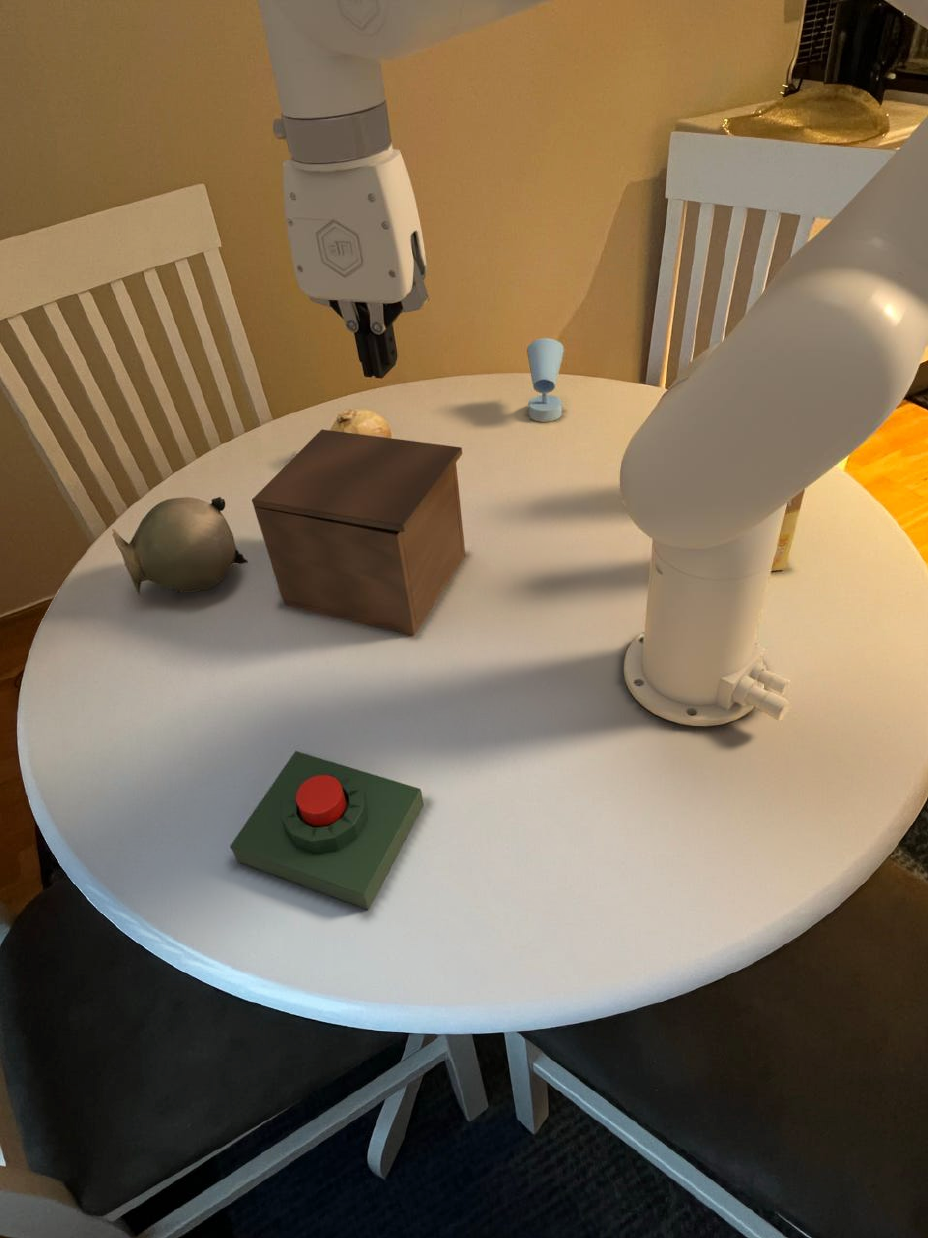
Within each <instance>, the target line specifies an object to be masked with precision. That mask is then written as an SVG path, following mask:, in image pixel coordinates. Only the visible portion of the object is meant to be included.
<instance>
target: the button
mask: <svg viewBox="0 0 928 1238" xmlns="http://www.w3.org/2000/svg"><path fill="white" fill-rule="evenodd" d="M296 802H297V805H298V807H299V810H300V813H301V815H302V818H303V819H304V820H305V821H306V822H307V823H309V824H310V825H313V826H326V825H329V824H332V823H333V822H335V821H337V820H338V819H339V818H340V817H341V816H342V814H343V813H344V811H345V808H346V799H345V796H344V792H343V789H342V786H341V784H340V782H339V781H338V780H337V779H336V778H334V777H332V776H328V775H319V776H315V777H312V778H310V779H308V780H307V781H305V782H304V783H303V784H302V785H301V786H300V788H299V789H298V791H297V795H296Z"/></svg>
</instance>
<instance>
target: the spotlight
mask: <svg viewBox="0 0 928 1238" xmlns="http://www.w3.org/2000/svg"><path fill="white" fill-rule="evenodd" d="M526 353H527V354H526V355H527V360H528V365H529V371H530V377H531V383H532V388H533V390H534V391H535V392H537V393H540V394H541V395H536V396H534V397H533V398H531V399H530V400H529V401H528V407H527V408H528V409H527V410H528V417H529V418H530V419H531V420H533V421H536V422H540V423H547V422H548V423H549V422H553V421H556V420H558V419H560V418H561V416H562V414H563V404H562V403H563V402H562V399H560V398H559V397H558V396H556V395H552V394H549V393H551V392H553V391H554V390H555V388H556V385H557V381H558V377H559V374H560V369H561V366H562V362H563V357H564V354H565V347H564V345H563V344H562V343H561V342H560V341H558V340H556V339H554V338H550V337H543V338H537V339H534V340H533V341H532V342H531V343H529V344H528V346H527V348H526Z"/></svg>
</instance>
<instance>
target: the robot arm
mask: <svg viewBox="0 0 928 1238" xmlns="http://www.w3.org/2000/svg"><path fill="white" fill-rule="evenodd" d="M551 1H553V0H257V3H258V8H259V13H260V18H261V22H262V27H263V32H264V35H265V40H266V46H267V49H268V50H267V51H268V55H269V60H270V65H271V69H272V75H273V78H274V83H275V87H276V93H277V97H278V101H279V106H280V110H281V115H280V116H281V118H275V119H274V121H273V124H272V131H273V134H274V137H275V138H276V139H278V140H284V141H286V144H287V149H288V152H289V154H290V158H288V159H286V160H285V161H283V163H282V184H283V185H282V188H283V189H282V190H283V204H284V205H283V206H284V215H285V223H286V232H287V238H288V243H289V249H290V256H291V261H292V266H293V271H294V275H295V279H296V284H297V285H298V287H299V289H300V291H301V292H302V293H303V294H304V295H306V296H307V297H308V298H309V300H310V301H311V302H312V303H316V304H319V305H320V306H321V305H322V306H325V307H327V308H331V309H332V310H333V311H334V312H335V313H336V314H337V315H338V316H339V317H340V318H341V319H342V320H343V321H344V325H345V327H346V329H347V330H348V331H349V332H350V333H353V335H354V341H355V345H356V346H355V347H356V353H357V355H358V356H357V357H358V360H359V362H360V363H361V367H362V373H363V376H364V377H365V378H372V377H374V378H375V379H381V380H382V379H383V378H384V377H385V376H386V375H387V374H389V373H390V372H391V370H392V369H393V368H394V367H395V366H396V364H397V361H398V349H397V342H396V337H395V329H394V322H396V321H397V319H398V318H399V316H400V315H401V314H402V313H409V312H415V311H419V310H422V309H423V308H424V307H425V306H426V305H427V304H428V303H429V302H430V296H429V293H428V290H427V287H426V283H425V281H424V280H425V279H426V278H427V273H428V272H427V270H428V269H427V268H428V267H427V257H426V250H425V243H424V242H425V241H424V236H423V230H422V225H421V220H420V215H419V211H418V207H417V202H416V197H415V193H414V190H413V189H414V188H413V186H412V183H411V179H410V176H409V172H408V170H407V166H406V163H405V161H404V158H403V155H402V152H401V150H400V149H398V148H397V149H396V148H393V147H394V146H393V140H392V133H391V127H390V119H389V112H388V105H387V98H386V92H385V84H384V78H383V69H382V63H381V62H382V61H397V60H402V59H407V58H409V57H412V56H414V55H418V54H419V53H422V52H425V51H427V50H430V49H432V48H435V47H436V46H439V45H441V44H444V43H447V42H449V41H452V40H454V39H457V38H461V37H463V36H465V35H469V34H472V33H474V32H477V31H479V30H481V29H484V28H486V27H489V26H492V25H494V24H497V23H499V22H501V21H504V20H506V19H508V18H511V17H514V16H516V15H519V14H521V13H525V12H526V11H529V10H532V9H535V8H536V7H539V6H541V5H542V6H543V5H544V4H548V3H549V2H551ZM884 1H885V2H887V3H888V4H890V5H891V6H892V7H894V8H895V9H897V10H898V11H900V12H901V13H903V14H904V15H906V16H907V17H909V18H910V19H911V20H913V21H914V22H916V23H918V24H919V25H921V27H923V28H925V29H926V30H928V0H884ZM927 348H928V115H926V116H925V118H924V119H923V120H922V121H921V122H920V123H919V125H918V126H917V127H916V128H915V129H914V130H913V131H912V132H911V134H910V135H909V136H908V137H907V138H906V140H905V141H904V142H903V143H902V144H901V145H900V147H899V148H898V149H897V151H896V152H895V153H894V154H893V155H892V156H891V158H889V160H888V161H887V162H886V163H885V164H884V165H883V166H882V167H881V168H880V169H879V170H878V171H877V172H876V173H875V174H874V176H873V177H872V178H871V179H870V180H869V181H868V182H867V183H866V184H865V185H864V186H863V187H862V188H861V189H860V190H859V192H857V193H856V195H855V196H854V197H853V198H852V199H851V200H850V201H849V202H848V203H847V204H846V205H845V206H844V207H843V208H842V209H841V210H840V211H839V212H838V213H837V214H835V216H834V217H833V218H832V219H831V220H830V221H829V222H828V223H827V224H826V225H825V226H824V227H823V228H821V230H819V232H817V234H815V235H814V236H813V237H812V238H811V239H809V240H808V241H807V242H806V243H804V244H803V245H802V246H801V247H800V248H799V249H798V250H796V252H795V253H793V254H792V255H791V256H790V258H789V259H788V260H787V261H786V262H785V263H784V264H783V265H782V267H780V269H779V270H778V271H777V272H776V273H775V275H774V276H773V278H772V279H771V280H770V282H769V283H768V285H767V286H766V287H765V288H764V290H763V291H762V292H761V294H760V295H759V296H758V298H757V299H756V300H755V302H754V303H753V305H751V307H750V308H749V309H748V311H746V313H745V314H744V316H742V318H741V319H740V320H739V322H738V323H737V324H736V325H735V326H734V328H732V329H731V330H730V331H729V333H728V334H727V336H725V338H724V339H722V341H720V342H718V343H715V344H713V345H711V346H709V347H708V348H706V349H705V350H703V351H702V352H700V353H699V354H698V355H697V356H696V357H694V358H693V359H692V360H691V361H690V362H689V363H688V364H687V365H686V366H685V367H684V369H682V371H681V372H680V373H679V374H678V375H677V377H676V378H675V379H674V380H673V381H672V382H671V384H670V385H669V387H668V388H667V390H666V391H665V392H664V394H663V395H662V396H661V398H660V399H659V400H658V403H657V404H656V405H655V407H654V408H653V409H652V410H651V412H650V413H649V414H648V416H647V417H646V418H645V420H643V422H642V424H641V425H640V426H639V427H638V428H637V429H636V431H635V433H634V434H633V436H632V437H631V439H630V441H629V442H628V444H627V445H626V447H625V450H624V453H623V456H622V459H621V462H620V469H619V489H620V490H619V491H620V495H621V500H622V502H623V505H624V508H625V510H626V512H627V514H628V516H629V517H630V519H631V520H632V522H633V523H634V524H635V526H636V527H637V528H638V529H639V530H640V531H641V532H642V533H643V534H645V535H646V536H647V537H649V538H650V539H652V542H651V543H652V545H651V554H650V565H649V577H648V588H647V597H646V598H647V599H646V608H645V620H644V628H643V629H644V630H643V632H642V633H640V634H639V635H638V636H636V638H635V639H634V640H633V641H632V642H631V643H630V645H629V647H628V648H627V650H626V653H625V656H624V660H623V675H624V681H625V683H626V686H627V688H628V690H629V692H630V693H631V695H632V696H633V698H634V699H635V700H636V701H637V702H638V703H639V704H640V705H641V706H642V707H643V708H645V709H646V710H648V711H649V712H651V713H652V714H654V715H656V716H658V717H660V718H662V719H665V720H666V721H669V722H673V723H677V724H680V725H686V726H690V727H691V726H692V727H712V726H720V725H725V724H728V723H731V722H734V721H736V720H739V719H741V718H742V717H745V716H746V715H747V714H748V713H750V711H752V710H753V709H754V708H756V709H758V710H759V712H761V713H762V714H764V715H766V716H768V717H770V718H772V719H774V720H776V721H777V722H782V719H784V717H785V716H786V714H787V713H788V710H789V709H790V706H791V700H788V699H786V698H784V697H782V696H780V695H779V694H781V695H784V694H785V693H786V691H788V688H789V686H790V684H791V680H789V679H787V678H785V677H784V676H781V675H779V674H777V673H774V672H772V671H770V670H768V669H767V666H766V665H765V664H764V662H763V660H764V657H765V652H766V647H764V646H762V645H760V644H758V643H756V640H757V635H758V632H759V626H760V622H761V618H762V613H763V609H764V605H765V600H766V596H767V591H768V586H769V581H770V577H771V573H772V571H771V568H772V564H773V559H774V556H775V553H776V549H777V545H778V540H779V536H780V531H781V527H782V522H783V518H784V514H785V510H786V506H787V502H789V501H790V500H791V499H793V498H794V497H795V496H796V495H798V494H799V493H800V492H802V491H803V490H804V489H805V490H806V489H807V488H808V487H809V486H811V485H812V484H813V483H815V482H816V481H818V480H819V479H820V478H822V477H823V476H824V475H825V474H827V473H828V472H829V471H830V470H832V469H833V468H834V467H836V466H837V465H838V464H840V463H841V462H842V461H843V460H844V459H846V458H847V457H848V456H850V455H851V454H852V453H854V452H855V451H856V450H857V449H858V448H860V447H861V446H862V445H863V444H864V443H865V442H867V441H868V440H869V439H870V438H871V437H872V436H873V435H875V433H876V432H877V431H878V430H879V429H880V428H881V427H882V426H883V425H884V423H885V422H886V421H887V420H888V419H889V418H890V417H891V416H892V414H894V412H895V411H896V409H898V407H899V405H900V404H901V403H902V402H903V399H904V398H905V397H906V395H907V393H908V392H909V389H910V388H911V386H912V384H913V382H914V380H915V378H916V375H917V373H918V371H919V367H920V365H921V362H922V360H923V358H924V356H925V352H926V350H927ZM765 686H766V687H768V688H769V689H771V690H774V691H775V692H777V693H779V694H777V693H775V692H772V691H768V690H766V689H765Z"/></svg>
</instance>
